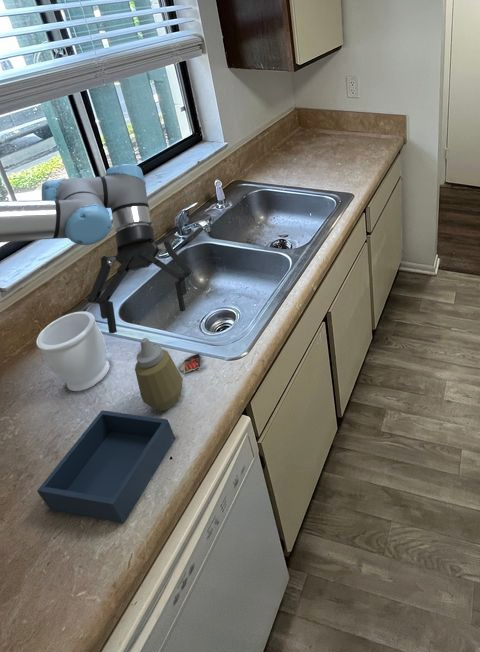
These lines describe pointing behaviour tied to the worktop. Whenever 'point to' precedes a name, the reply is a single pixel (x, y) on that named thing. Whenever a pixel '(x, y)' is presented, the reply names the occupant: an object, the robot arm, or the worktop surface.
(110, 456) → the bin
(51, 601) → the worktop surface
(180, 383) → the squeeze bottle
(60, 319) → the jar
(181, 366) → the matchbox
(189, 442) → the worktop surface
